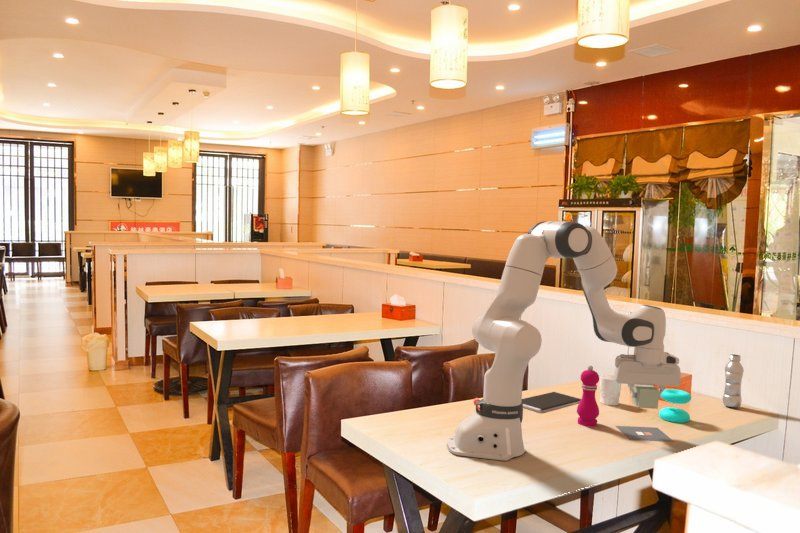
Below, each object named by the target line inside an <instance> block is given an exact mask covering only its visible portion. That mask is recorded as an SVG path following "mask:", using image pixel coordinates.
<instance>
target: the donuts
mask: <svg viewBox="0 0 800 533" xmlns="http://www.w3.org/2000/svg"><path fill="white" fill-rule="evenodd" d="M660 399H662V400H663V401H666V402H667V403H671V404H676V405H686V404H688V403H689V402H690V401H691V400H692V396H691V394H690V392H687V391H685V390H682V389H676V388H665V390H664V391H663V392H662V394H661V397H660ZM658 416H659V418H661V419H662V420H663V421H667V422H671V423H677V424H685V423H687V422H689V421H690V419H691V416H690V414H689V413H688V411H686V410H684V409H682V408H678V407H672V406H671V407H669V406H668V407H663V408H661V409H660V410H659V412H658Z"/></svg>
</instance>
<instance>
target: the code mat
mask: <svg viewBox="0 0 800 533" xmlns="http://www.w3.org/2000/svg"><path fill="white" fill-rule="evenodd" d="M615 427H616V429H618V430H619V431H620V432H621V433H622V434H623V435H624V436H625V437H626V438H627V439H628V440H629V441H643V442H644V441H646V442H647V441H648V442H664V443H665V442H666V443H669V442H670V443H675V441H674V440H673V439H672V438H671V437H669V436H668V435H667V434H666V433H665V432H663V431H662V430H661V429H660V428H659V427H648V426H625V425H615Z"/></svg>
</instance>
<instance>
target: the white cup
mask: <svg viewBox="0 0 800 533" xmlns="http://www.w3.org/2000/svg"><path fill="white" fill-rule="evenodd" d="M621 389H622V383H618V382H616V381H615V379H614V374H613V375H612V374H602V375H599V402H600V403H601V405H605V404H606V406H618V405H619V404H620V398H621Z"/></svg>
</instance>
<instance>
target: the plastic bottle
mask: <svg viewBox="0 0 800 533" xmlns="http://www.w3.org/2000/svg"><path fill="white" fill-rule="evenodd" d="M728 360H729V362H727V363H726V364H725V366H724V374H725V383H724V384H725V385H724V392H723V396H722V403H723V405H724V406H726V407H728V408H735V409H736V408H740V406H741V405H742V403H743V400H742V392H741V391H742V381H743V376H744V366H743V365H742V363H741V355H739V354H731V353H730V354H729V359H728Z"/></svg>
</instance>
